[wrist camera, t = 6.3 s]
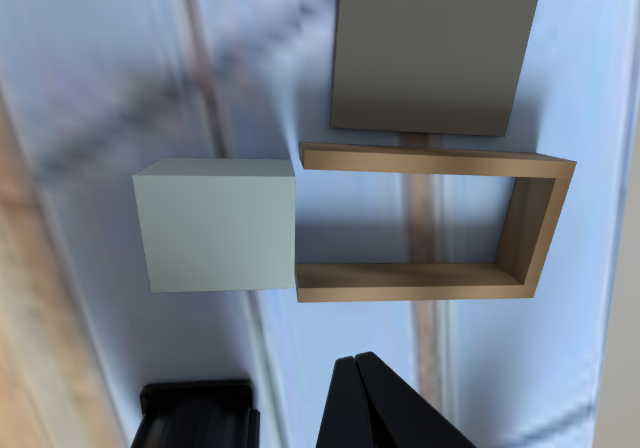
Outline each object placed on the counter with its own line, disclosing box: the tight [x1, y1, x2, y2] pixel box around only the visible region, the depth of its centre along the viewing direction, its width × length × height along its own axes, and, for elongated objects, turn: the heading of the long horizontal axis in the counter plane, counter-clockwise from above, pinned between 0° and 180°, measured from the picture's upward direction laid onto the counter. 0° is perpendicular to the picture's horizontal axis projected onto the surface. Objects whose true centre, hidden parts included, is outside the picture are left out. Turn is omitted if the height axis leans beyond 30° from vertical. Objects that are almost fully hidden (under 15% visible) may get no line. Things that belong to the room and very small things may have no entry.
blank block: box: [132, 158, 295, 293], centre depth 16 cm, size 6×5×4 cm
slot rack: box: [295, 142, 577, 303], centre depth 18 cm, size 13×7×3 cm, turn 86°
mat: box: [330, 0, 538, 137], centre depth 16 cm, size 9×7×1 cm
